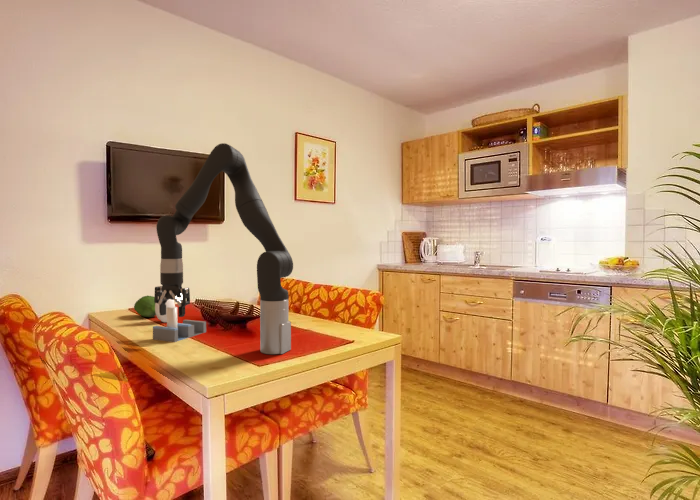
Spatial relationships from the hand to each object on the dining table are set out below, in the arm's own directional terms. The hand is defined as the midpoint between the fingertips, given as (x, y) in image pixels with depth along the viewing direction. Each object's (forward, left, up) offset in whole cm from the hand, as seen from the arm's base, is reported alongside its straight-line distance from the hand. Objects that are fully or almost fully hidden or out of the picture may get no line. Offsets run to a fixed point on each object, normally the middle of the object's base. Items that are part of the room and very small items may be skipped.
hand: (172, 315), depth 144 cm
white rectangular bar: (0, 0, -8) cm, 8 cm away
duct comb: (0, -4, -9) cm, 10 cm away
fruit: (+44, -30, -9) cm, 54 cm away
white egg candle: (+27, -24, -9) cm, 37 cm away
